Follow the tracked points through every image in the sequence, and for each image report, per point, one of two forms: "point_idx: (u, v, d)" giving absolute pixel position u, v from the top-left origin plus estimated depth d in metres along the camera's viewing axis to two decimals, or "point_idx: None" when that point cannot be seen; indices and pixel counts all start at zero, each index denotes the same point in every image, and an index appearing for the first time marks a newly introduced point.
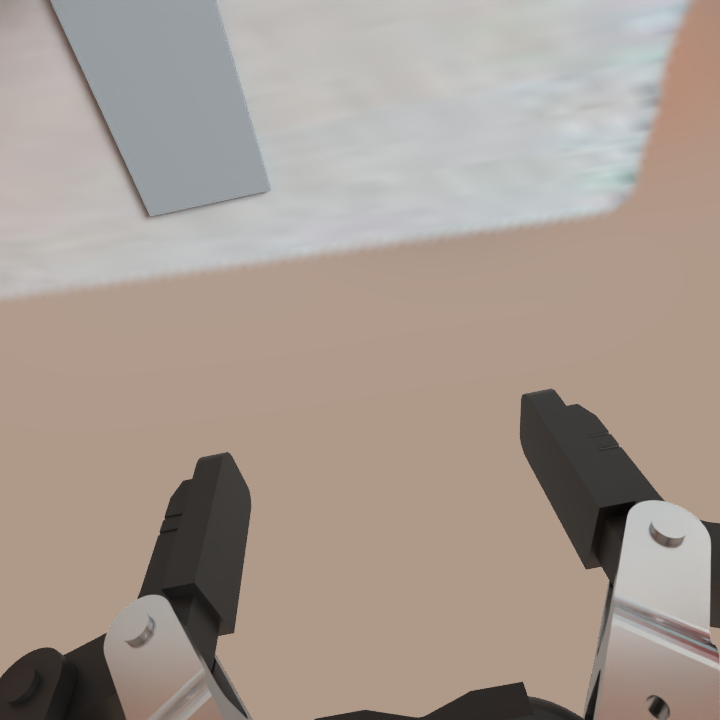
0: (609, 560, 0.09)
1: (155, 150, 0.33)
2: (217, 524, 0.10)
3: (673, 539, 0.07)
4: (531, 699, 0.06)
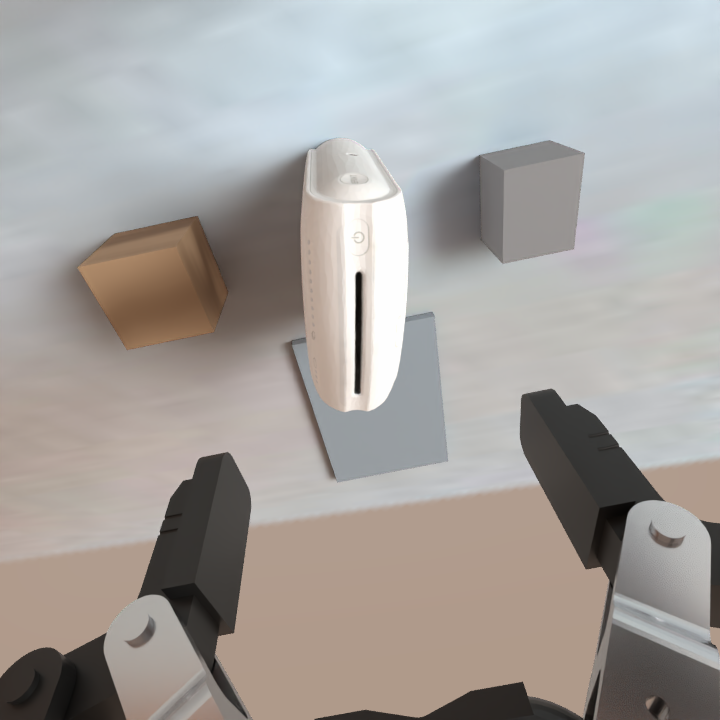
0: (609, 560, 0.09)
1: (356, 442, 0.36)
2: (217, 524, 0.10)
3: (673, 539, 0.07)
4: (531, 699, 0.06)
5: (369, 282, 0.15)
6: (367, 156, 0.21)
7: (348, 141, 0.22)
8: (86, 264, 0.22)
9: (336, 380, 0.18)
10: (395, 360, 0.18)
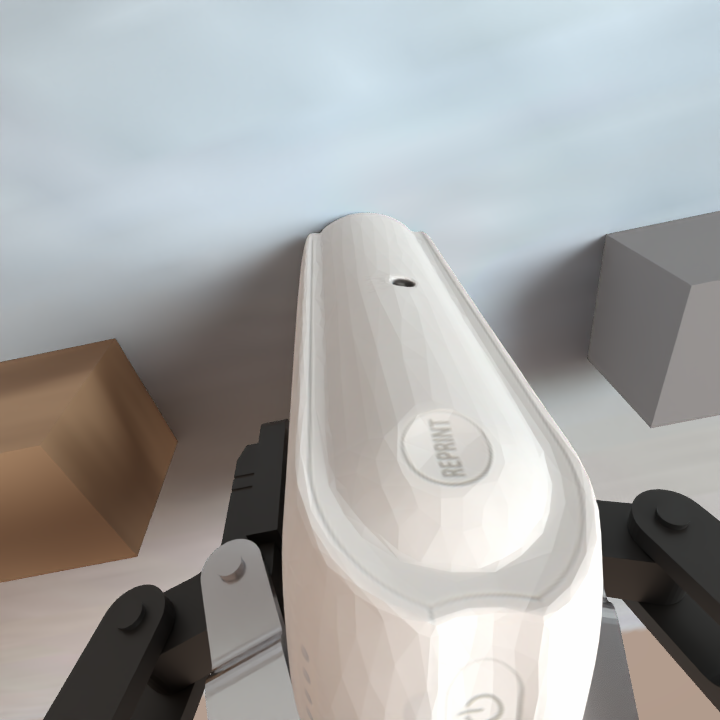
0: None
1: None
2: None
3: None
4: None
5: None
6: (428, 269, 0.10)
7: (382, 224, 0.12)
8: None
9: None
10: None
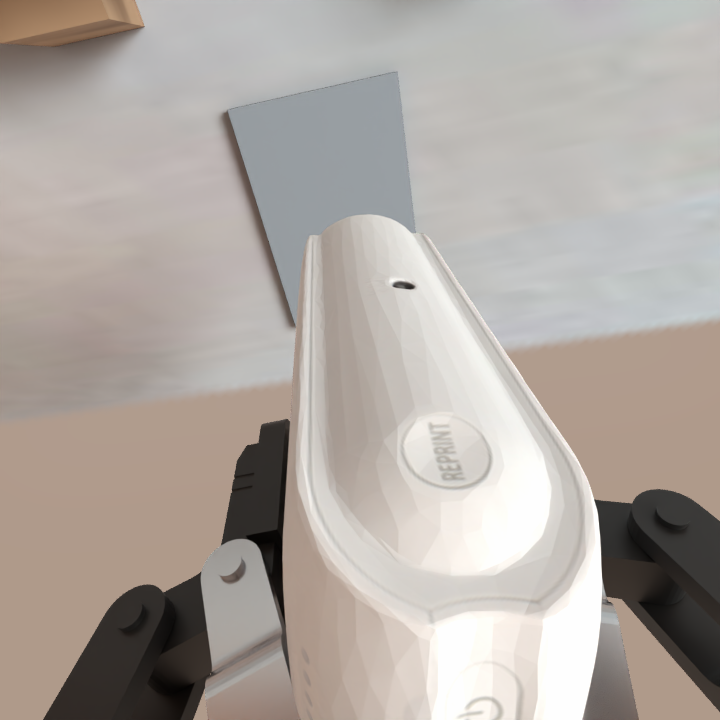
0: None
1: None
2: None
3: None
4: None
5: None
6: (427, 271, 0.10)
7: (382, 226, 0.12)
8: None
9: None
10: None
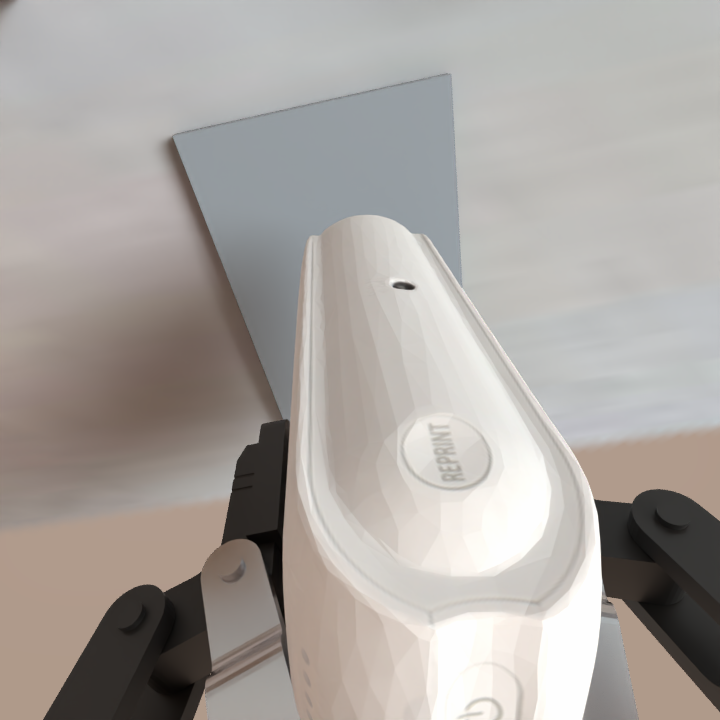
0: None
1: None
2: None
3: None
4: None
5: None
6: (428, 272, 0.10)
7: (382, 227, 0.12)
8: None
9: None
10: None
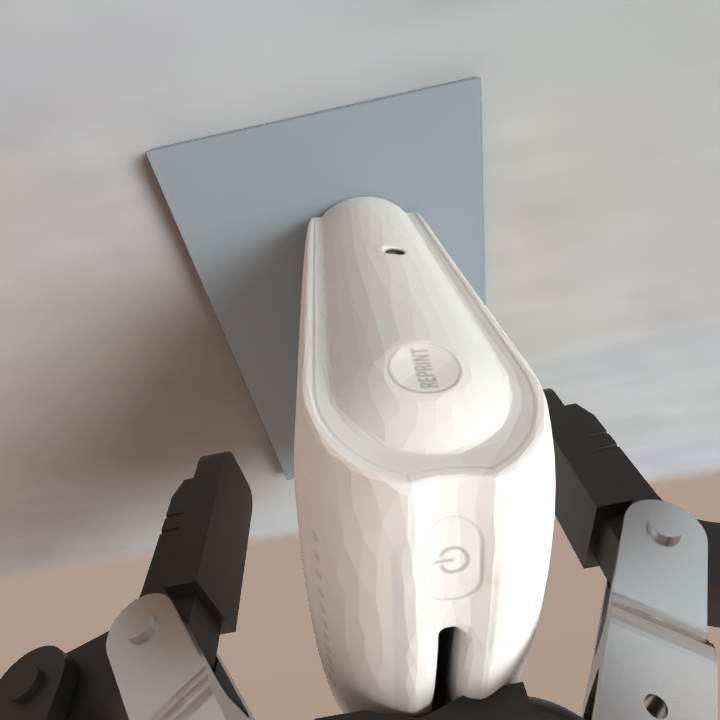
0: (607, 559, 0.09)
1: None
2: (219, 523, 0.10)
3: (670, 538, 0.07)
4: (531, 699, 0.06)
5: (479, 652, 0.06)
6: (418, 242, 0.11)
7: (377, 206, 0.13)
8: None
9: None
10: None
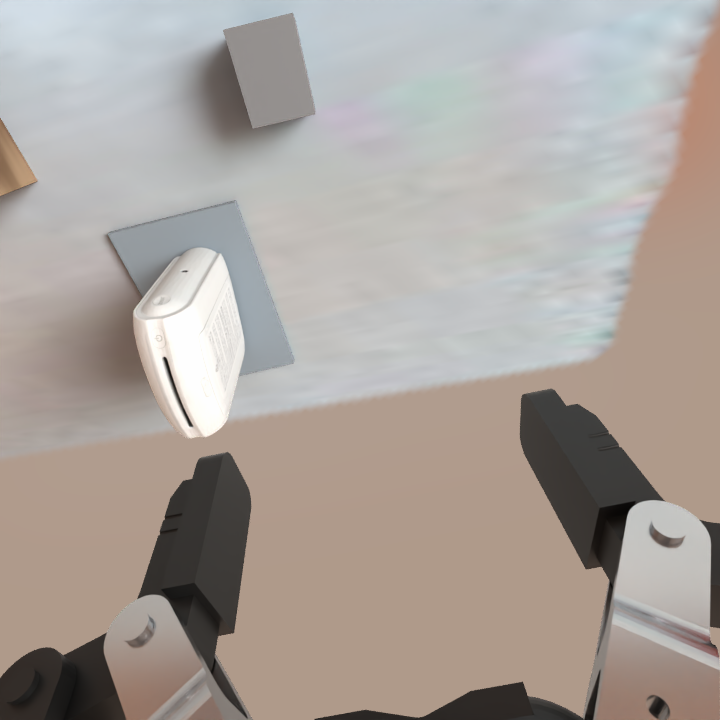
0: (609, 560, 0.09)
1: None
2: (217, 524, 0.10)
3: (673, 539, 0.07)
4: (531, 699, 0.06)
5: (170, 363, 0.26)
6: (201, 267, 0.31)
7: (198, 252, 0.33)
8: None
9: (172, 419, 0.28)
10: (211, 404, 0.28)
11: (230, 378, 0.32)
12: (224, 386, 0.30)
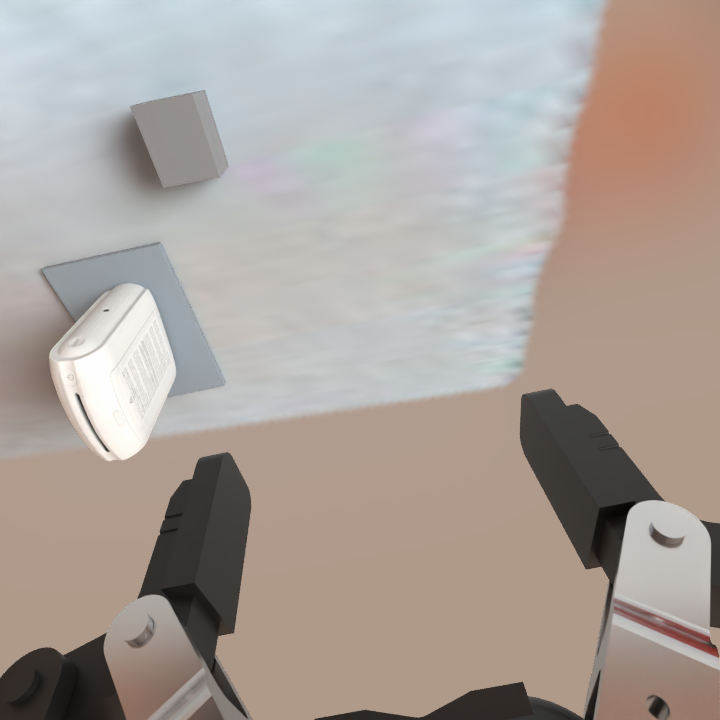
0: (609, 560, 0.09)
1: None
2: (217, 524, 0.10)
3: (673, 539, 0.07)
4: (531, 699, 0.06)
5: (82, 399, 0.29)
6: (124, 305, 0.34)
7: (124, 289, 0.36)
8: None
9: (89, 445, 0.31)
10: (125, 432, 0.32)
11: (151, 405, 0.35)
12: (141, 414, 0.33)
